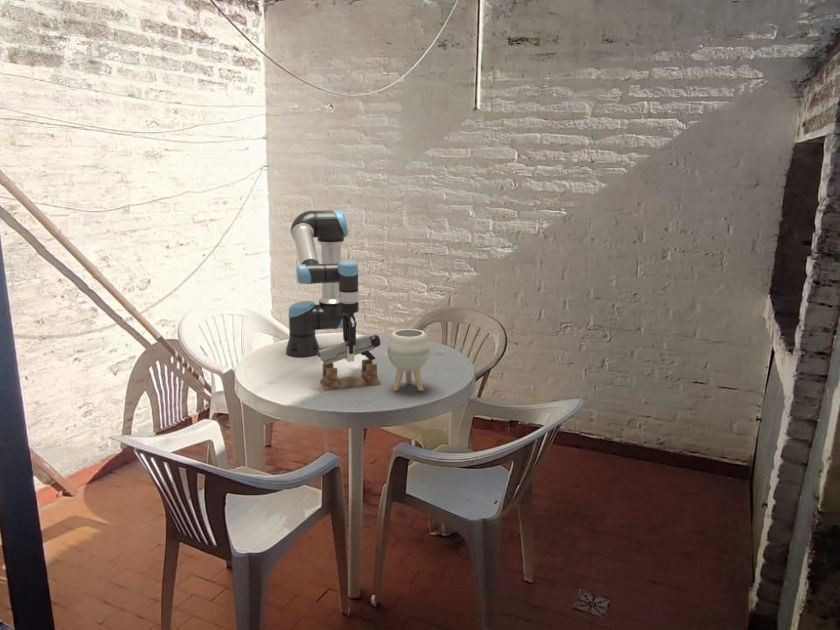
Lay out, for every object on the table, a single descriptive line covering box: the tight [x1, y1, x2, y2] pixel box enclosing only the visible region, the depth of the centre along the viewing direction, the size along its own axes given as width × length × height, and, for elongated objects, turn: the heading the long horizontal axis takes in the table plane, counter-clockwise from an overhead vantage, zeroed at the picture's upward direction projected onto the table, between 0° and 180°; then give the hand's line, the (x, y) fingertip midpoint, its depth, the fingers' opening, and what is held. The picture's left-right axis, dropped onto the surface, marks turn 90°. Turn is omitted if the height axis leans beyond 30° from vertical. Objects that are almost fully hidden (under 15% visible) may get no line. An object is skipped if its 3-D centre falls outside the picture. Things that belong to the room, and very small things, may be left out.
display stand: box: [319, 358, 381, 391], centre depth 252 cm, size 22×10×8 cm, turn 110°
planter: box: [387, 328, 431, 392], centre depth 245 cm, size 16×16×22 cm
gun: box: [317, 334, 381, 365], centre depth 250 cm, size 2×25×10 cm, turn 110°
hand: (349, 360), depth 251 cm, fingers closed on gun, 2 cm apart
